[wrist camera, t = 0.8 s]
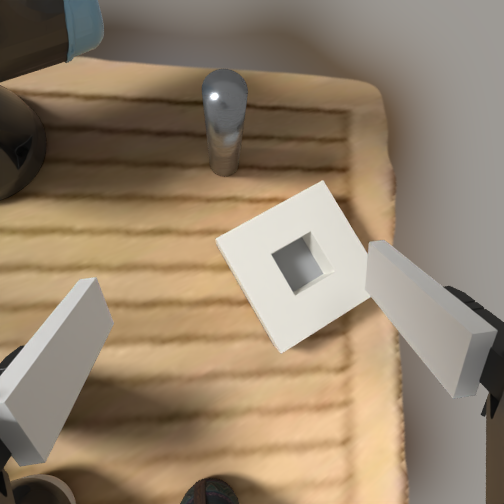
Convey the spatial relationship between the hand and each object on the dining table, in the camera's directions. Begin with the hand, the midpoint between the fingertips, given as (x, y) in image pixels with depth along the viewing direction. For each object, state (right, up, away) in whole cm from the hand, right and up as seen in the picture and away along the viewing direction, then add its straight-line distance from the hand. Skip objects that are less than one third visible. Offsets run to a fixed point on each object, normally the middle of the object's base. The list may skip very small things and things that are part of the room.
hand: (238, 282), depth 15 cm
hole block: (+6, 0, +25) cm, 26 cm away
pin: (-3, +14, +26) cm, 30 cm away
